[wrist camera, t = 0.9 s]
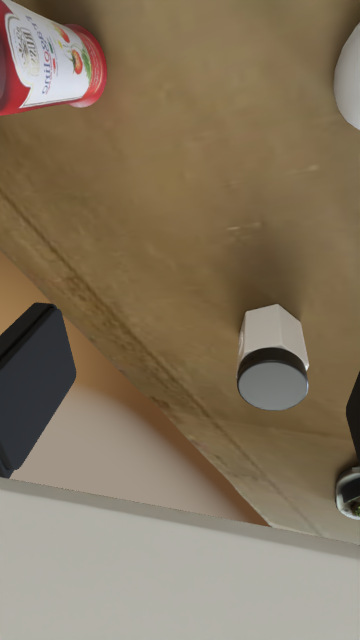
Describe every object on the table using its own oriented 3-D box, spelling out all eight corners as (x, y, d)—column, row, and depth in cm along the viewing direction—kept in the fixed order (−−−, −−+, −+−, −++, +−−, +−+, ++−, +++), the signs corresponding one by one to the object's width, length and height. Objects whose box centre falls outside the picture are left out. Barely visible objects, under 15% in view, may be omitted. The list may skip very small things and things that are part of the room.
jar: (248, 297, 47) (245, 351, 37) (307, 309, 46) (320, 366, 37) (234, 346, 52) (229, 405, 42) (287, 357, 51) (294, 419, 42)
